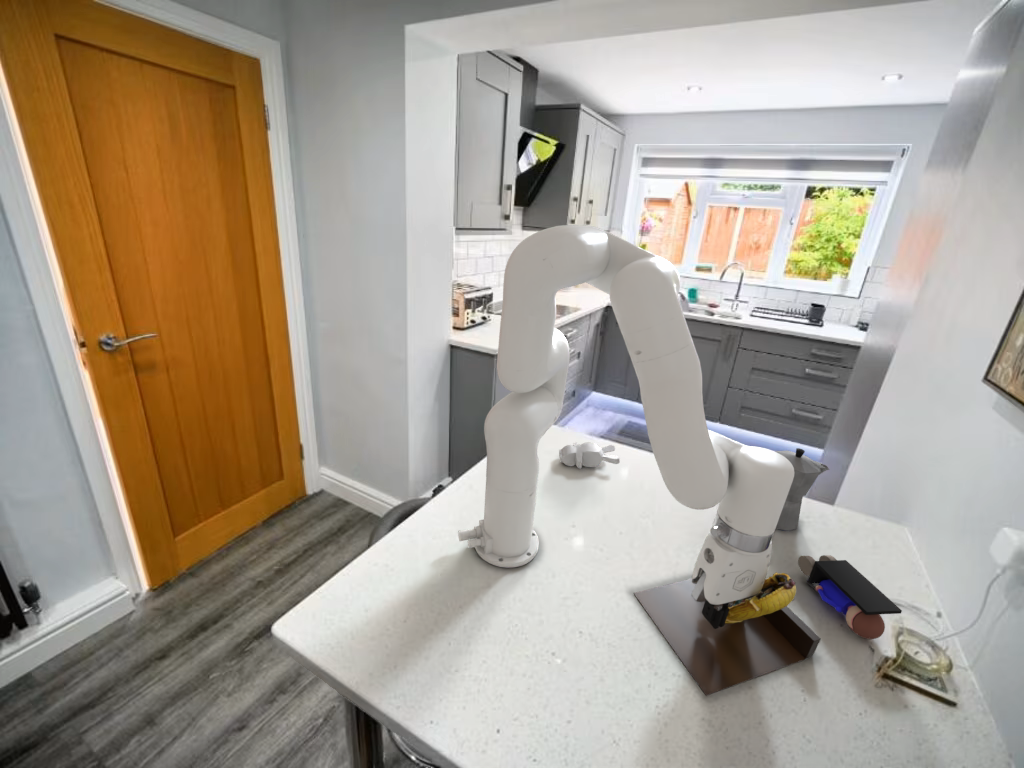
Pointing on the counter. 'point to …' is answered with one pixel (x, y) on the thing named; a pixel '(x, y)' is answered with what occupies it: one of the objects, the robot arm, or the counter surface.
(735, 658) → the dark wood ledge tray
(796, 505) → the coffeepot
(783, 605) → the yellow ribbed curl ornament
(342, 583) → the counter surface
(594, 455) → the bunny figurine
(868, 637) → the figurine character
